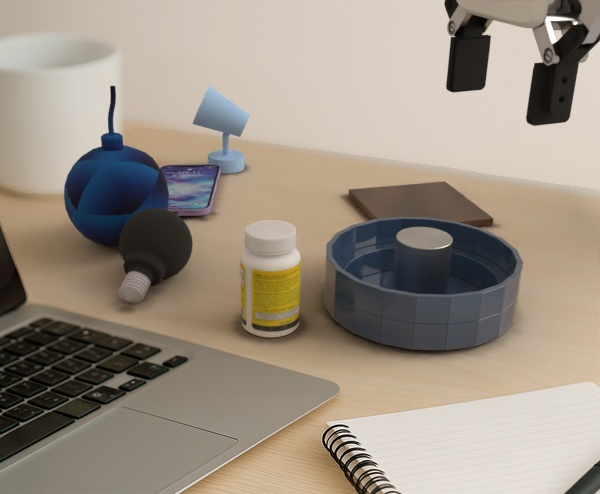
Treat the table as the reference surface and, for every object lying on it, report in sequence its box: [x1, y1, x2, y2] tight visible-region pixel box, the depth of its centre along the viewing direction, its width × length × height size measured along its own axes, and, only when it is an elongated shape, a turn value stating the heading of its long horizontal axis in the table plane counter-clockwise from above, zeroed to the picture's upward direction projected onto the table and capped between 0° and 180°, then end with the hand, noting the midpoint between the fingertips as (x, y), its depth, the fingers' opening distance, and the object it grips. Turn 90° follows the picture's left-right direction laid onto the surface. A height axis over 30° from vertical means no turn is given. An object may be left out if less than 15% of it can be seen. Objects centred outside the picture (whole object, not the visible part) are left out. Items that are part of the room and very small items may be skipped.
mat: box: [347, 180, 494, 228], centre depth 91 cm, size 12×12×1 cm
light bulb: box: [118, 208, 194, 304], centre depth 72 cm, size 6×6×10 cm
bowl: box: [324, 217, 524, 351], centre depth 70 cm, size 16×16×5 cm
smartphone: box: [159, 163, 222, 217], centre depth 94 cm, size 7×1×15 cm
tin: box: [392, 227, 453, 295], centre depth 69 cm, size 5×5×6 cm
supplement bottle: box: [239, 219, 302, 338], centre depth 65 cm, size 5×5×8 cm
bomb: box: [63, 85, 169, 249], centre depth 78 cm, size 10×11×15 cm
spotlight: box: [192, 85, 251, 175], centre depth 100 cm, size 5×10×7 cm
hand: (503, 105), depth 59 cm, fingers open, 9 cm apart
